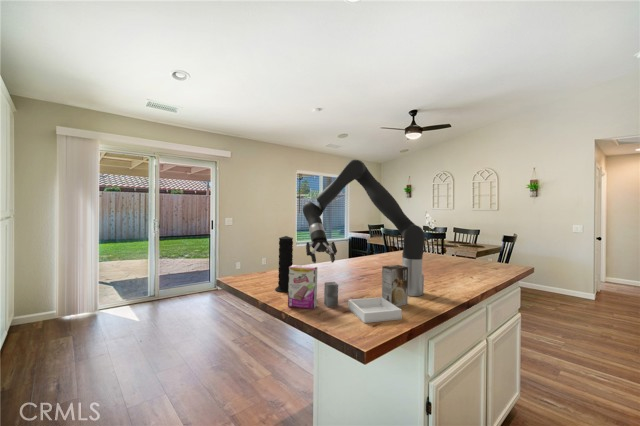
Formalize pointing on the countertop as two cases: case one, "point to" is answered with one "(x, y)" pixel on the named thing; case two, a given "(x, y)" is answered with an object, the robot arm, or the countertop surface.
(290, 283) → the candy bar box
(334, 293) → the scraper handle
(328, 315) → the countertop surface
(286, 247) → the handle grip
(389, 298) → the coffee box
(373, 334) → the countertop surface
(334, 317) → the countertop surface
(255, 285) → the countertop surface
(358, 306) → the tray
